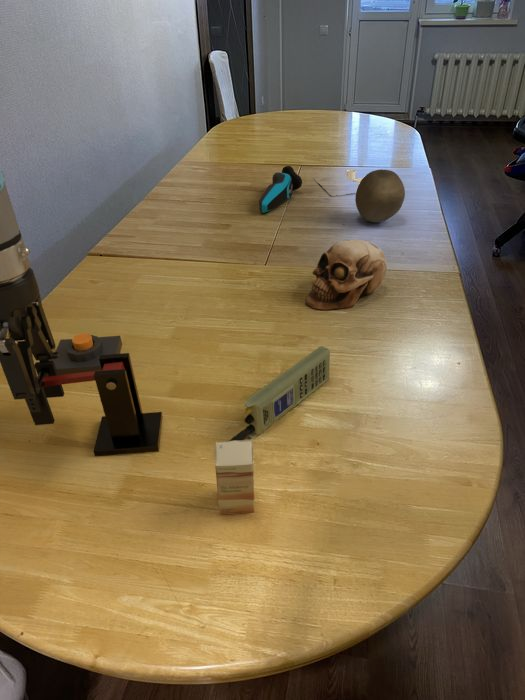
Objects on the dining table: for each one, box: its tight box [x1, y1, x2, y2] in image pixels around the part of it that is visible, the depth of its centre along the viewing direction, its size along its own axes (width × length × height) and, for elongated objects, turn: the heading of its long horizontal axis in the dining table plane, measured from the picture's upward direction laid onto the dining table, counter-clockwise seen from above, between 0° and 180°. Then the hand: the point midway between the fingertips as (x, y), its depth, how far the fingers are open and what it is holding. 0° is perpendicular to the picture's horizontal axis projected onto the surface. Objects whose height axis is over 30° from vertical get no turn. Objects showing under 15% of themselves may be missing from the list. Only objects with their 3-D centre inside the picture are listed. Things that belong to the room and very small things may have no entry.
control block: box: [52, 334, 123, 375], centre depth 101 cm, size 12×10×4 cm
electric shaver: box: [258, 165, 303, 214], centre depth 169 cm, size 9×26×10 cm
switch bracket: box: [92, 352, 163, 457], centre depth 80 cm, size 10×8×15 cm
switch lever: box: [37, 362, 125, 389], centre depth 77 cm, size 13×6×2 cm, turn 95°
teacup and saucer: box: [345, 168, 362, 183], centre depth 184 cm, size 9×8×4 cm
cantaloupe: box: [354, 168, 406, 223], centre depth 150 cm, size 14×14×15 cm
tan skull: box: [304, 239, 388, 311], centre depth 117 cm, size 16×17×13 cm
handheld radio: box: [228, 346, 331, 441], centre depth 86 cm, size 7×3×25 cm
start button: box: [71, 333, 93, 351], centre depth 99 cm, size 4×4×2 cm
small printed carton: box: [214, 439, 255, 515], centre depth 70 cm, size 5×4×10 cm
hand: (50, 408), depth 80 cm, fingers closed on switch lever, 5 cm apart
